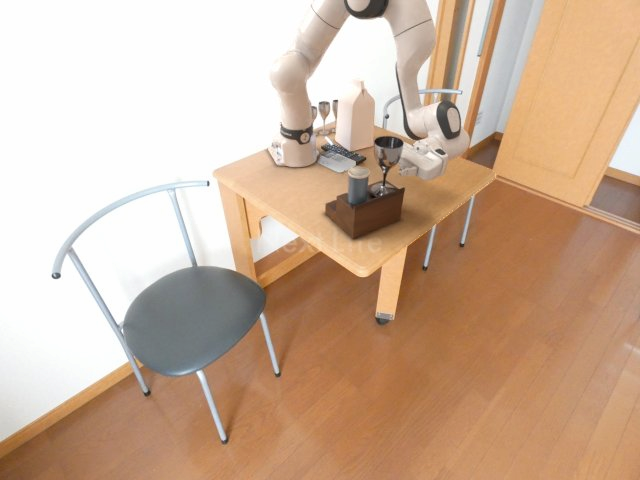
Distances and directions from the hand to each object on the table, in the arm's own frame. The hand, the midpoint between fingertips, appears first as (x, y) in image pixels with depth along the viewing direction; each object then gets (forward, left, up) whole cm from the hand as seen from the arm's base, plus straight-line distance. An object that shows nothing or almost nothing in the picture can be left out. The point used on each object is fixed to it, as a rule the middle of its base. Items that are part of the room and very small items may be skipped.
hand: (389, 166), depth 105 cm
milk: (-48, +23, -18) cm, 56 cm away
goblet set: (-63, +24, -18) cm, 69 cm away
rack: (-3, -6, -18) cm, 19 cm away
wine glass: (0, -1, -8) cm, 8 cm away
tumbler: (0, -11, -8) cm, 13 cm away
